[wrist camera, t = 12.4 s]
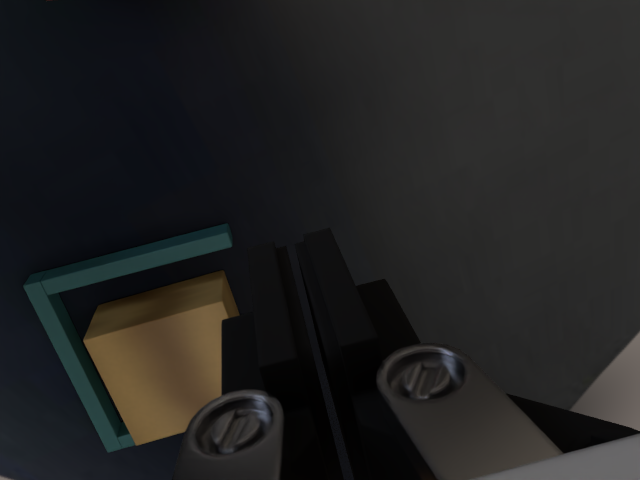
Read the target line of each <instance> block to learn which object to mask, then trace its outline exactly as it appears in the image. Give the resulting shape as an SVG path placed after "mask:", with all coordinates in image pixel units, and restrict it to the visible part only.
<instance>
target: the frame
mask: <svg viewBox="0 0 640 480" xmlns="http://www.w3.org/2000/svg"><path fill="white" fill-rule="evenodd" d="M229 247H232V234H231V231H230V228H229V224H228V223H226V224H222V225H218V226H214V227H211V228H207V229H203V230H199V231H195V232H192V233H188V234H184V235H180V236H176V237H173V238H169V239H165V240H161V241H157V242H153V243H150V244H146V245H142V246H138V247H134V248H131V249H127V250H123V251H119V252H115V253H112V254H108V255H104V256H100V257H96V258H93V259H89V260H85V261H81V262H77V263H73V264H70V265H66V266H62V267H58V268H54V269H51V270H48V271H47V270H46V271H42V272H38V273H34V274H31V275H30V277H29V278H28V279H27V281H26V282H25V284H24V285H23V287H24V289H25V291H26V293H27V295H28V297H29V299H30V301H31V303H32V305H33V307H34V309H35V311H36V313H37V315H38V317H39V319H40V321H41V323H42V325H43V327H44V328H45V330H46V332H47V334H48V336H49V338H50V340H51V342H52V344H53V346H54V348H55V350H56V352H57V354H58V356H59V358H60V360H61V362H62V364H63V366H64V368H65V370H66V372H67V374H68V375H69V377H70V379H71V381H72V383H73V385H74V387H75V389H76V391H77V393H78V395H79V397H80V399H81V401H82V403H83V405H84V407H85V409H86V411H87V413H88V415H89V417H90V419H91V421H92V422H93V424H94V426H95V428H96V430H97V432H98V434H99V436H100V438H101V440H102V442H103V444H104V446H105V448H106V450H107V452H112V451H115V450H119V449H122V448H126V447H129V446H133V445H135V443H134V441H133V439H132V437H131V435H130V433H129V431H128V429H127V427H126V425H125V423H124V422H122V423H121V422H120V420H119V418H118V416H117V414H116V412H115V409H114V407H113V405H112V403H111V401H110V399H109V397H108V395H107V393H106V391H105V389H104V387H103V385H102V383H101V381H100V378H99V376H98V374H97V372H96V370H95V368H94V366H93V364H92V362H91V360H90V358H89V356H88V354H87V352H86V349H85V347H84V345H83V343H82V341H81V339H80V337H79V335H78V333H77V331H76V329H75V327H74V325H73V323H72V321H71V318H70V316H69V314H68V312H67V310H66V308H65V306H64V304H63V302H62V300H61V298H60V296H59V294H58V293H59V292H63V291H66V290H70V289H74V288H78V287H81V286H85V285H89V284H93V283H97V282H100V281H104V280H108V279H112V278H116V277H119V276H123V275H127V274H131V273H135V272H138V271H142V270H146V269H150V268H153V267H157V266H161V265H165V264H169V263H172V262H176V261H180V260H184V259H188V258H191V257H195V256H199V255H203V254H207V253H210V252H214V251H218V250H222V249H226V248H229Z"/></svg>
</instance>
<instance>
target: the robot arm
mask: <svg viewBox="0 0 640 480" xmlns="http://www.w3.org/2000/svg"><path fill="white" fill-rule="evenodd" d="M303 236H304V242H300V243H296V244H295V248H296V252H297V256H298V260H299V265H300V269H301V273H302V277H303V281H304V285H305V290H306V294H307V298H308V302H309V306H310V310H311V315H312V319H313V323H314V327H315V331H316V336H317V340H318V344H319V348H320V352H321V356H322V360H323V364H324V368H325V372H326V376H327V380H328V383H329V387H330V391H331V395H332V398H333V402H334V406H335V409H336V413H337V417H338V421H339V424H340V428H341V432H342V436H343V439H344V443H345V447H346V451H347V454H348V458H349V462H350V465H351V469H352V473H353V477H354V480H640V431H638V430H634V429H632V428H630V427H626V426H623V425H619V424H615V423H612V422H608V421H604V420H601V419H597V418H594V417H590V416H586V415H583V414H579V413H575V412H572V411H568V410H564V409H561V408H557V407H553V406H550V405H546V404H543V403H539V402H535V401H532V400H528V399H524V398H521V397H517V396H513V395H510V394H506V393H504V392H503V391H502V390H501V388H500V387H499V386H498V385H497V384H496V383H495V382H494V381H493V380H492V379H491V378H490V377H489V376H488V375H487V374H486V373H485V372H484V371H483V370H482V369H481V368H480V367H479V366H478V365H477V364H476V363H475V362H474V361H473V360H472V359H471V358H470V357H469V356H468V355H467V354H465V353H464V352H463V351H461V350H460V349H457V348H455V347H452V346H449V345H446V344H439V343H421V342H420V340H419V339H418V337H417V335H416V333H415V331H414V330H413V328H412V326H411V324H410V322H409V321H408V319H407V317H406V315H405V313H404V312H403V310H402V308H401V306H400V304H399V303H398V301H397V299H396V297H395V295H394V293H393V292H392V290H391V288H390V286H389V284H388V283H387V281H386V280H385V279H382V280H378V281H374V282H370V283H366V284H362V285H358V286H355V284H354V281H353V279H352V277H351V275H350V272H349V270H348V268H347V265H346V263H345V261H344V259H343V256H342V254H341V252H340V250H339V247H338V245H337V243H336V241H335V238H334V236H333V234H332V232H331V229H330V228H327V229H323V230H319V231H315V232H311V233H307V234H303ZM247 251H248V261H249V271H250V281H251V291H252V302H253V312H251V313H247V314H243V315H239V316H235V317H231V318H227V319H223V320H222V324H221V396H220V397H218V398H215V399H213V400H211V401H210V402H209V403H207V404H206V405H205V406H203V407H202V408H201V409H199V411H198V412H197V413H196V414H195V415H194V416H193V418H192V419H191V420H190V422H189V424H188V426H187V428H186V431H185V434H184V437H183V441H182V445H181V448H180V452H179V456H178V459H177V463H176V466H175V470H174V474H173V477H172V480H344V479H343V475H342V471H341V466H340V462H339V458H338V454H337V450H336V446H335V442H334V438H333V434H332V430H331V426H330V422H329V418H328V414H327V410H326V406H325V402H324V397H323V393H322V389H321V385H320V381H319V377H318V373H317V369H316V365H315V361H314V357H313V353H312V349H311V345H310V341H309V337H308V333H307V329H306V325H305V320H304V316H303V312H302V308H301V304H300V300H299V296H298V292H297V288H296V284H295V280H294V276H293V272H292V268H291V264H290V260H289V256H288V252H287V248H286V246H284V247H280V248H276V247H275V243H274V242H270V243H266V244H262V245H258V246H254V247H250V248H247Z"/></svg>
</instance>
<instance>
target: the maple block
mask: <svg viewBox="0 0 640 480" xmlns="http://www.w3.org/2000/svg"><path fill="white" fill-rule="evenodd" d="M235 316H239V312H238V309H237V306H236V304H235V301H234V298H233V295H232V292H231V290H230V287H229V284H228V281H227V278H226V276H225V273H224V271H223V270H221V271H217V272H214V273H210V274H207V275H203V276H200V277H196V278H193V279H189V280H185V281H182V282H178V283H175V284H171V285H168V286H164V287H161V288H157V289H154V290H150V291H146V292H143V293H139V294H136V295H132V296H129V297H125V298H122V299H118V300H115V301H111V302H108V303H104V304H100V305H98V307H97V309H96V311H95V314H94V316H93V318H92V321H91V323H90V326H89V328H88V330H87V333H86V335H85V337H84V340H83V342H84V344H85V346H86V348H87V350H88V352H89V354H90V355H91V357H92V359H93V361H94V363H95V365H96V367H97V369H98V371H99V373H100V375H101V377H102V379H103V381H104V383H105V385H106V387H107V389H108V391H109V393H110V395H111V397H112V399H113V401H114V403H115V405H116V407H117V409H118V411H119V413H120V415H121V417H122V419H123V421H124V423H125V425H126V427H127V429H128V431H129V433H130V435H131V437H132V439H133V441H134V443H135V445H140V444H144V443H147V442H151V441H154V440H158V439H161V438H165V437H168V436H171V435H175V434H178V433H182V432H185V431H186V428H187V426H188V424H189V422H190V420H191V419H192V418H193V416H194V415H195V414H196V413H197V412H198V411H199V409H201V408H202V407H203V406H205V405H206V404H207V403H209V402H210V401H211V400H213V399H215V398H218V397H220V396H221V324H222V320H223V319H227V318H231V317H235Z"/></svg>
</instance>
